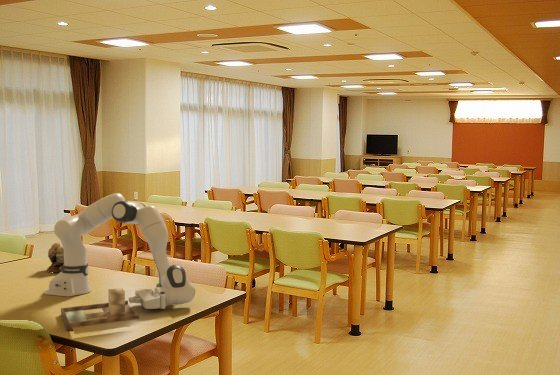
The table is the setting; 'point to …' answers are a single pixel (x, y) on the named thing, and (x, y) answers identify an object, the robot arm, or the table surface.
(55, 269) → the owl figurine
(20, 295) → the table surface
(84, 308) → the tray
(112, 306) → the maple block
